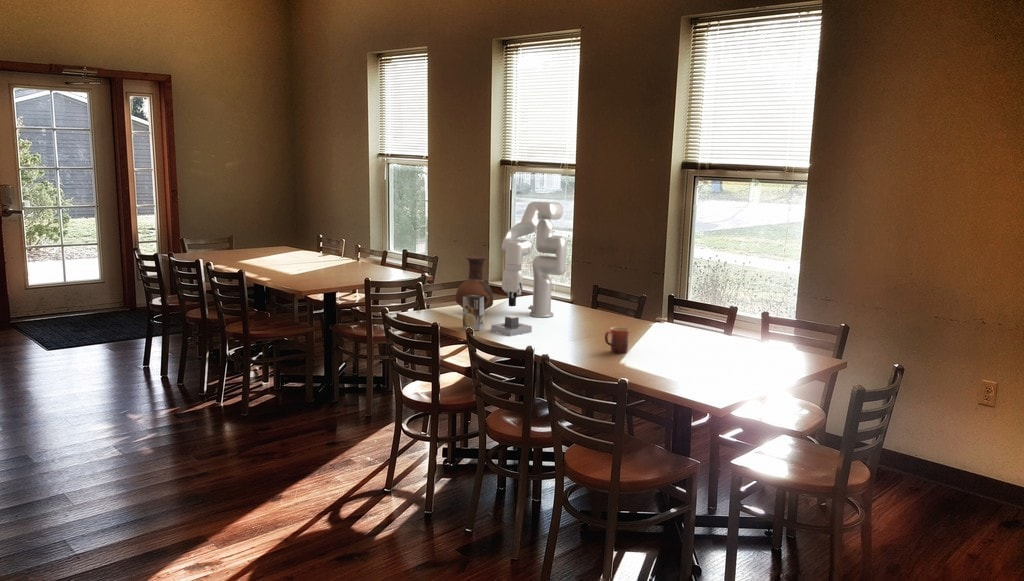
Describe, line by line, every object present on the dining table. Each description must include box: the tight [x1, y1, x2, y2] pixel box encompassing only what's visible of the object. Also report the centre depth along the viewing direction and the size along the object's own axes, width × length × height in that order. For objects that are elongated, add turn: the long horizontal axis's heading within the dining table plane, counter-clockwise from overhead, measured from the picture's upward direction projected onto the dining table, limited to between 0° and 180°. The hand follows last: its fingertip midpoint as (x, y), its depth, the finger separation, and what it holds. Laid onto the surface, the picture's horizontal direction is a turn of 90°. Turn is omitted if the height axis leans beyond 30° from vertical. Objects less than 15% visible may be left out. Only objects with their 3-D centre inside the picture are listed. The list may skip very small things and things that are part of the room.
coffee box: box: [462, 295, 485, 332], centre depth 380 cm, size 9×6×16 cm
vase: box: [455, 255, 494, 311], centre depth 414 cm, size 25×20×30 cm
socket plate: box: [491, 322, 533, 337], centre depth 377 cm, size 13×14×4 cm
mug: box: [604, 326, 631, 354], centre depth 342 cm, size 12×9×10 cm
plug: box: [504, 315, 520, 328], centre depth 377 cm, size 5×5×7 cm
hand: (512, 305), depth 375 cm, fingers closed
